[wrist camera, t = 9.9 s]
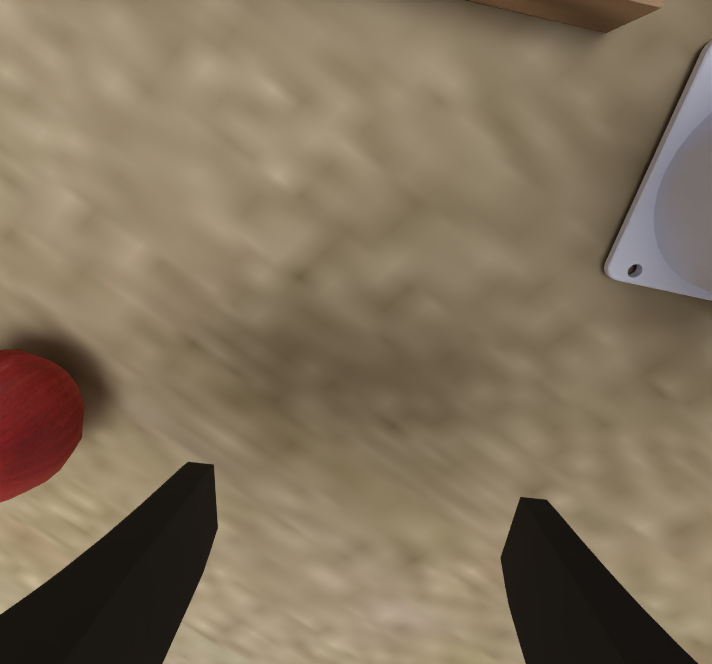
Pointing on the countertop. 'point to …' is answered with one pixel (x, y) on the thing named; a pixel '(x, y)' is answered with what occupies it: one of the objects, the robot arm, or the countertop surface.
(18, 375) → the onion
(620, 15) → the socket board
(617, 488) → the countertop surface
